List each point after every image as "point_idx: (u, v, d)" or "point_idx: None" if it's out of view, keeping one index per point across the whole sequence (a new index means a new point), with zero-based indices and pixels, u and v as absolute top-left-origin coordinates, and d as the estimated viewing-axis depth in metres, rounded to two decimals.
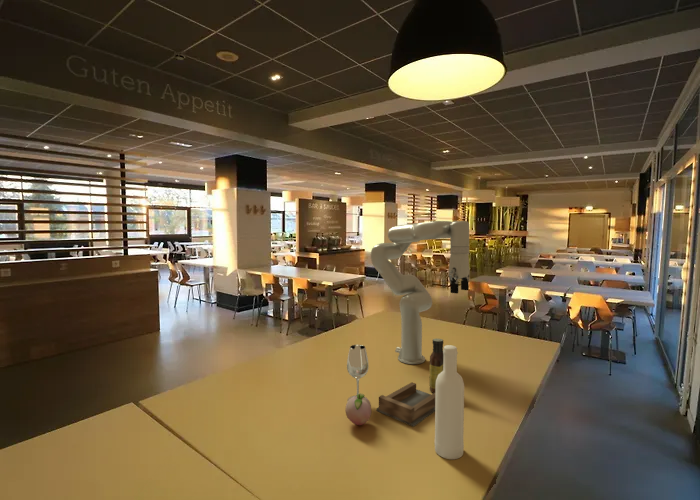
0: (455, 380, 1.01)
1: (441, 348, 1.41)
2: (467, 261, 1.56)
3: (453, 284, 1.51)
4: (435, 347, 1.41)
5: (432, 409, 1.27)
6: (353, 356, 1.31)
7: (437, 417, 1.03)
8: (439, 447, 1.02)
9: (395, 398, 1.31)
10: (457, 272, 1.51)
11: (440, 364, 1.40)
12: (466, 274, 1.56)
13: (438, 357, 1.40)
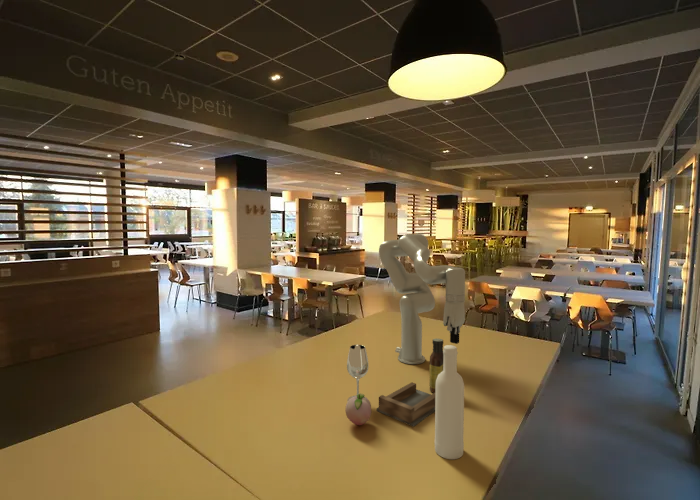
0: (455, 380, 1.01)
1: (441, 348, 1.41)
2: (463, 309, 1.51)
3: (453, 334, 1.50)
4: (435, 347, 1.41)
5: (432, 409, 1.27)
6: (353, 356, 1.31)
7: (437, 417, 1.03)
8: (439, 447, 1.02)
9: (395, 398, 1.31)
10: (453, 326, 1.47)
11: (440, 364, 1.40)
12: (462, 322, 1.51)
13: (438, 357, 1.40)
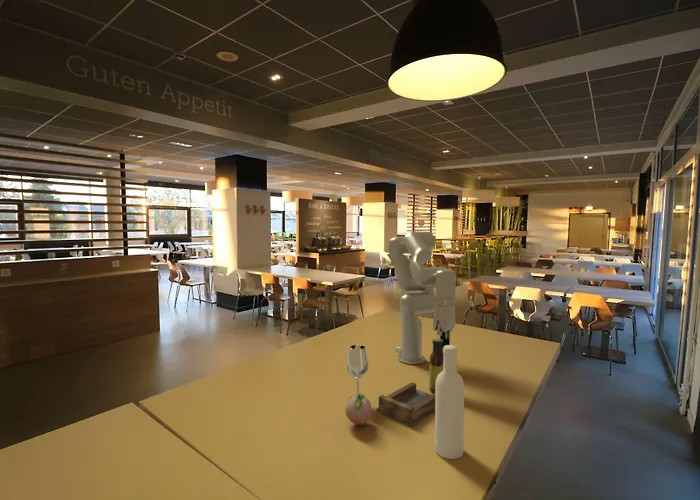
0: (455, 380, 1.01)
1: (441, 348, 1.41)
2: (453, 312, 1.45)
3: (443, 339, 1.44)
4: (435, 347, 1.41)
5: (432, 409, 1.27)
6: (353, 356, 1.31)
7: (437, 417, 1.03)
8: (439, 447, 1.02)
9: (395, 398, 1.31)
10: None
11: (440, 364, 1.40)
12: (452, 326, 1.46)
13: (438, 357, 1.40)
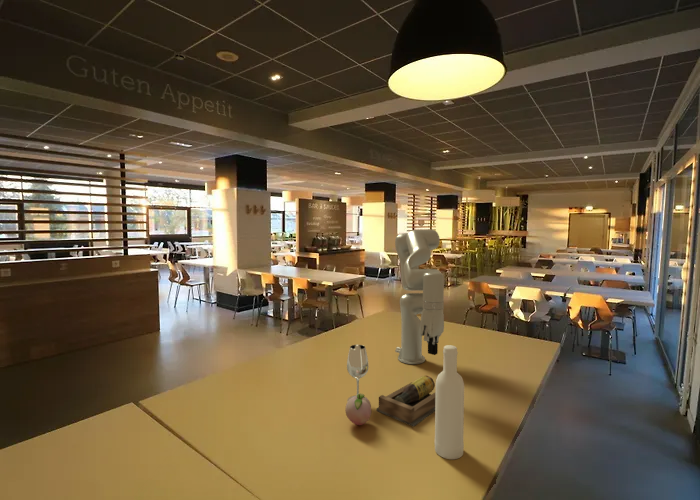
0: (455, 380, 1.01)
1: (407, 403, 1.28)
2: (441, 317, 1.39)
3: (430, 345, 1.38)
4: None
5: (432, 409, 1.27)
6: (353, 356, 1.31)
7: (437, 417, 1.03)
8: (439, 447, 1.02)
9: None
10: None
11: None
12: (441, 331, 1.39)
13: (409, 403, 1.31)
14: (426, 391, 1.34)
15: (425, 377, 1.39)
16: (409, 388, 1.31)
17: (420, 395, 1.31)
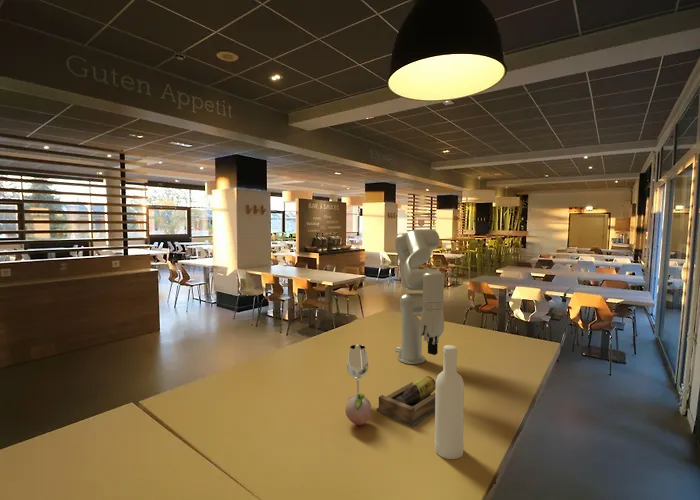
0: (455, 380, 1.01)
1: (408, 404, 1.27)
2: (441, 317, 1.39)
3: (430, 345, 1.38)
4: None
5: (432, 409, 1.27)
6: (353, 356, 1.31)
7: (437, 417, 1.03)
8: (439, 447, 1.02)
9: (395, 398, 1.31)
10: None
11: None
12: (441, 331, 1.39)
13: None
14: (427, 393, 1.34)
15: (428, 378, 1.38)
16: (411, 389, 1.30)
17: (421, 397, 1.30)
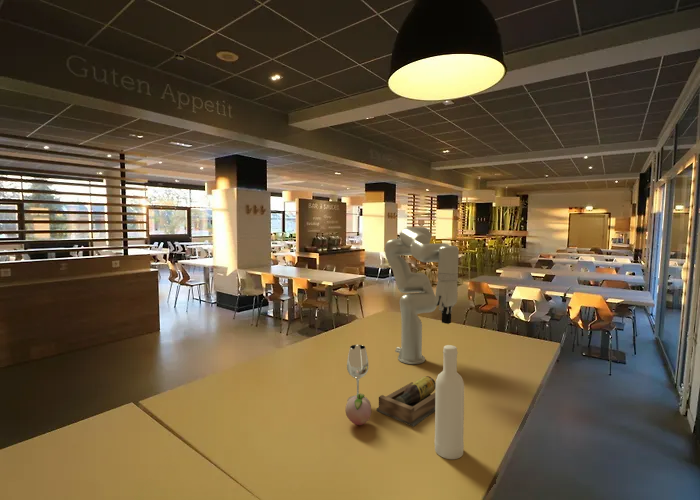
0: (455, 380, 1.01)
1: (408, 404, 1.27)
2: (455, 288, 1.46)
3: (444, 314, 1.46)
4: None
5: (432, 409, 1.27)
6: (353, 356, 1.31)
7: (437, 417, 1.03)
8: (439, 447, 1.02)
9: (395, 398, 1.31)
10: None
11: None
12: (454, 302, 1.47)
13: None
14: (427, 393, 1.34)
15: (427, 378, 1.38)
16: (411, 389, 1.30)
17: (421, 397, 1.30)
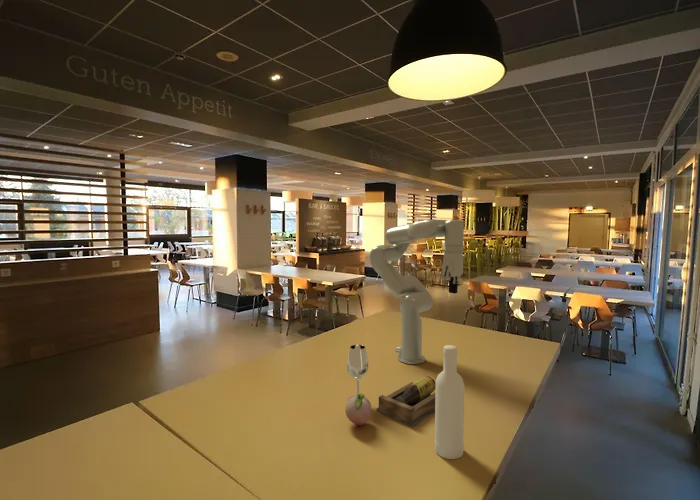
0: (455, 380, 1.01)
1: (408, 404, 1.27)
2: (461, 260, 1.56)
3: (451, 284, 1.56)
4: None
5: (432, 409, 1.27)
6: (353, 356, 1.31)
7: (437, 417, 1.03)
8: (439, 447, 1.02)
9: (395, 398, 1.31)
10: None
11: None
12: (460, 273, 1.57)
13: None
14: (427, 393, 1.34)
15: (427, 378, 1.38)
16: (411, 389, 1.30)
17: (421, 397, 1.30)
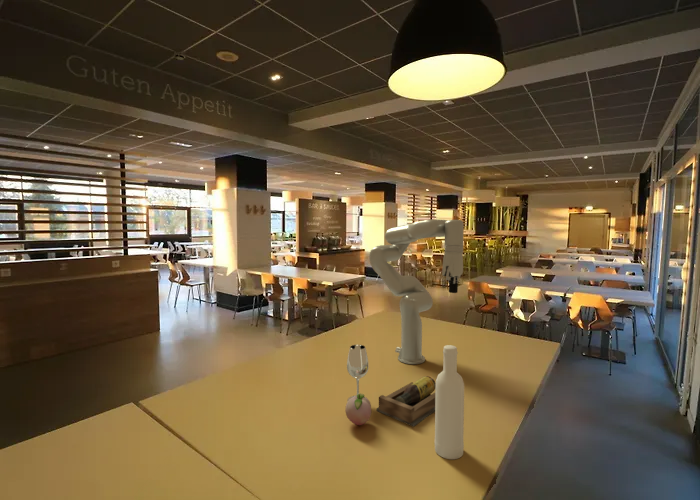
0: (455, 380, 1.01)
1: (408, 404, 1.27)
2: (461, 260, 1.57)
3: (451, 284, 1.56)
4: None
5: (432, 409, 1.27)
6: (353, 356, 1.31)
7: (437, 417, 1.03)
8: (439, 447, 1.02)
9: (395, 398, 1.31)
10: (452, 275, 1.53)
11: None
12: (460, 272, 1.57)
13: None
14: (427, 393, 1.34)
15: (427, 378, 1.38)
16: (411, 389, 1.30)
17: (421, 397, 1.30)
